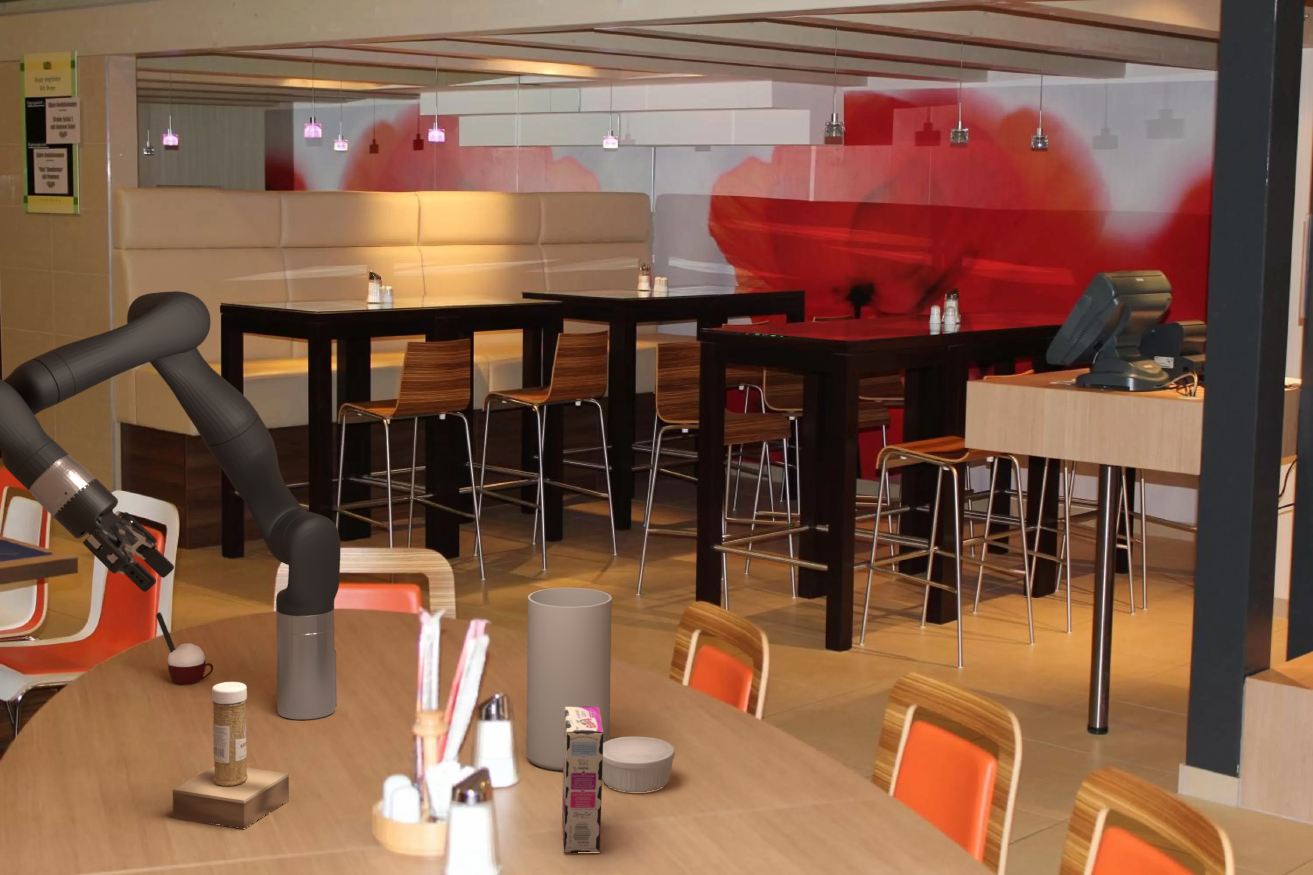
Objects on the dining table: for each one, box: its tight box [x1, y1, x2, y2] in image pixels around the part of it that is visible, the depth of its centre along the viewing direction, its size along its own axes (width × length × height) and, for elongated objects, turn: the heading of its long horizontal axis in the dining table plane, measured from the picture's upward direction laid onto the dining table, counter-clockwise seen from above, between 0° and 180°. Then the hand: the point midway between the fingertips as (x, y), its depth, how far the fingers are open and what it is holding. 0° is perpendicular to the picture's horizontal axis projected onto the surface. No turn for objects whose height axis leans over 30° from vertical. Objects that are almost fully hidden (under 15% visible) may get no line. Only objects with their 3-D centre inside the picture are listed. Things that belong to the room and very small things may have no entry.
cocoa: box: [155, 611, 214, 686], centre depth 269 cm, size 10×6×12 cm, turn 68°
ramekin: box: [602, 736, 676, 792], centre depth 225 cm, size 11×11×5 cm
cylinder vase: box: [525, 587, 613, 772], centre depth 233 cm, size 12×12×25 cm
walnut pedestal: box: [172, 766, 290, 829], centre depth 211 cm, size 11×11×4 cm
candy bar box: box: [561, 707, 603, 854], centre depth 203 cm, size 11×5×16 cm, turn 5°
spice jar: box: [211, 681, 248, 786], centre depth 210 cm, size 5×5×14 cm
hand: (160, 579), depth 212 cm, fingers open, 8 cm apart
